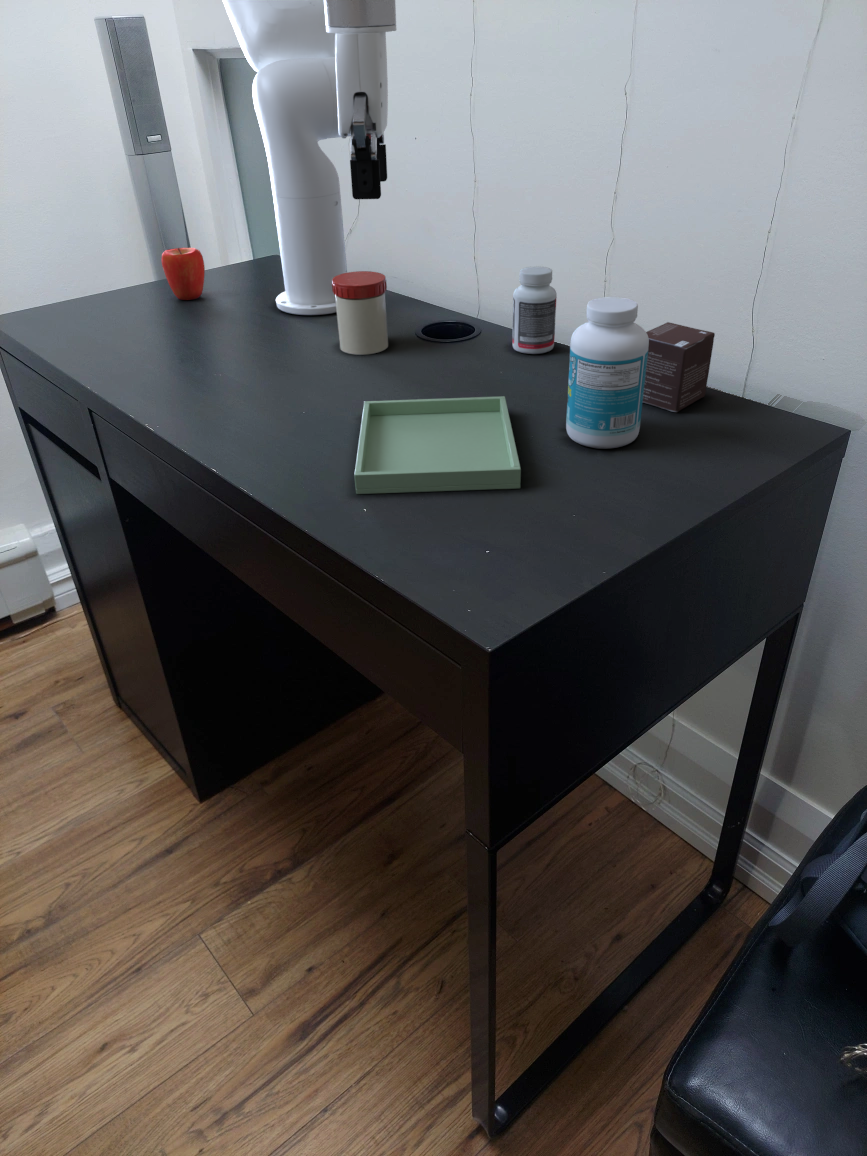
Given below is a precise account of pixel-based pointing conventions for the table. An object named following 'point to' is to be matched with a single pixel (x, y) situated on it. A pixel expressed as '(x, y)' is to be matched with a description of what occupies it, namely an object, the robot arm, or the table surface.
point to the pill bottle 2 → (607, 375)
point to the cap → (359, 284)
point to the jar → (362, 324)
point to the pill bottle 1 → (534, 311)
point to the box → (677, 366)
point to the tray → (436, 446)
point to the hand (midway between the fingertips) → (370, 189)
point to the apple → (184, 272)
